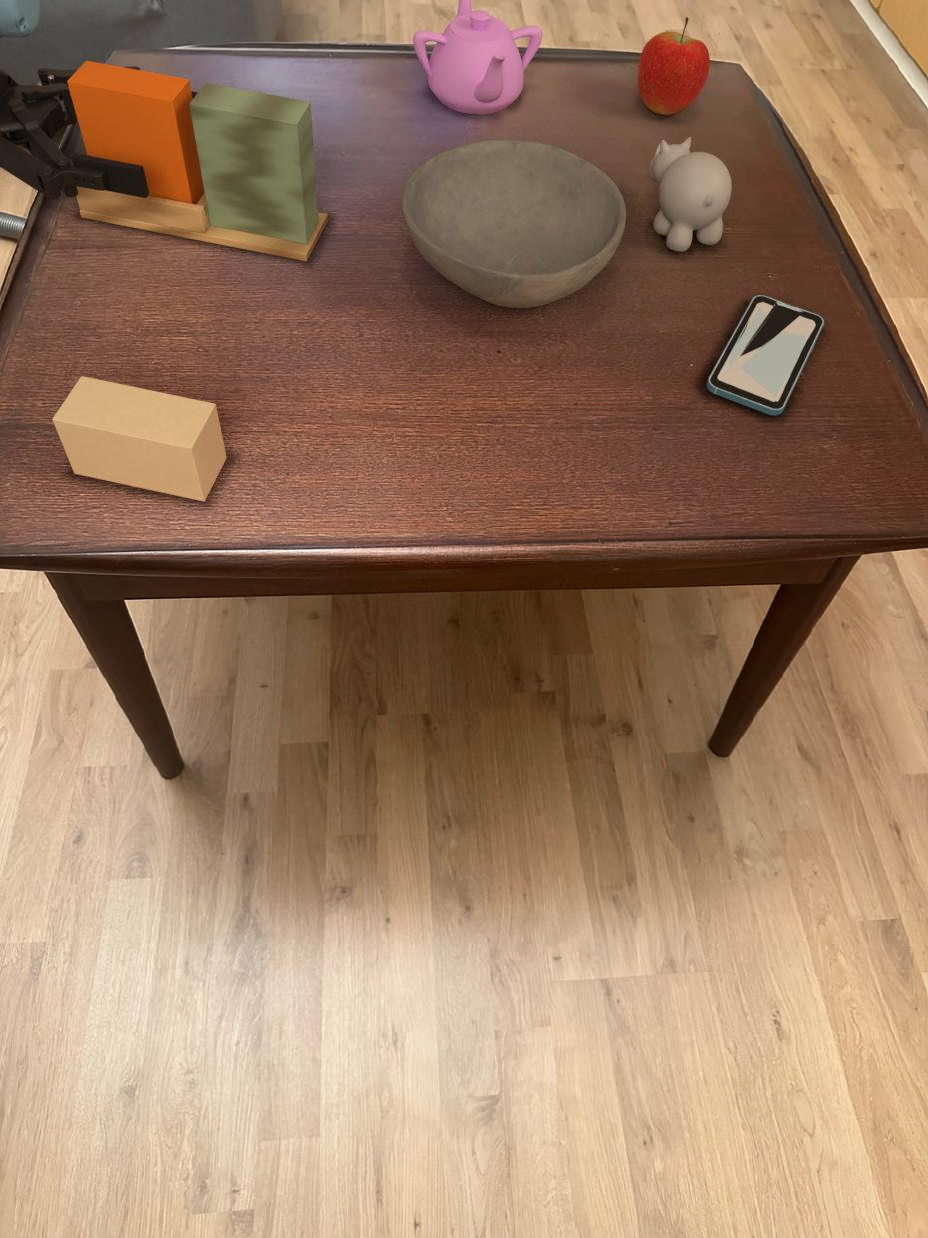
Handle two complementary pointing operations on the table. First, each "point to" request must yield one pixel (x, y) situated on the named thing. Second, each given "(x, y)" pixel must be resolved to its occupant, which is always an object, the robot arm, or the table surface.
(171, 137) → the orange rectangular block
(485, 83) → the teapot
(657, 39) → the apple
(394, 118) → the table surface
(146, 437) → the pad riser
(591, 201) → the bowl
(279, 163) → the pad holder
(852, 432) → the table surface
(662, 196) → the round bodied animal figurine
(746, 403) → the smartphone
